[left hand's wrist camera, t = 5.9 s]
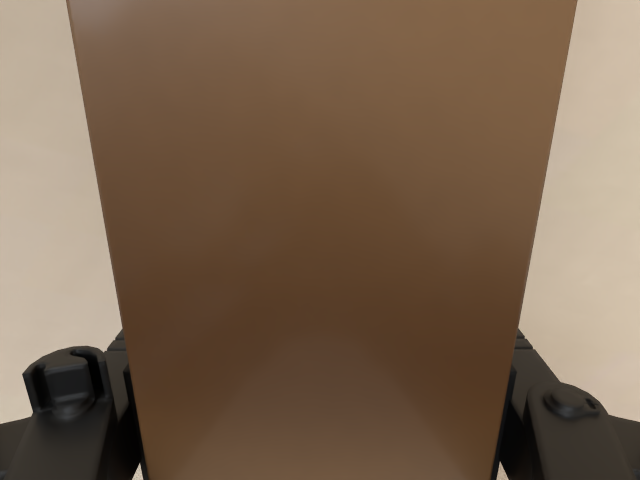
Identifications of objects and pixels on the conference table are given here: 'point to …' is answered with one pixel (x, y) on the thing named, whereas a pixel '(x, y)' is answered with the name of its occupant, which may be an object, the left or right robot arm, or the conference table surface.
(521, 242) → the bar
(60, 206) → the conference table surface
